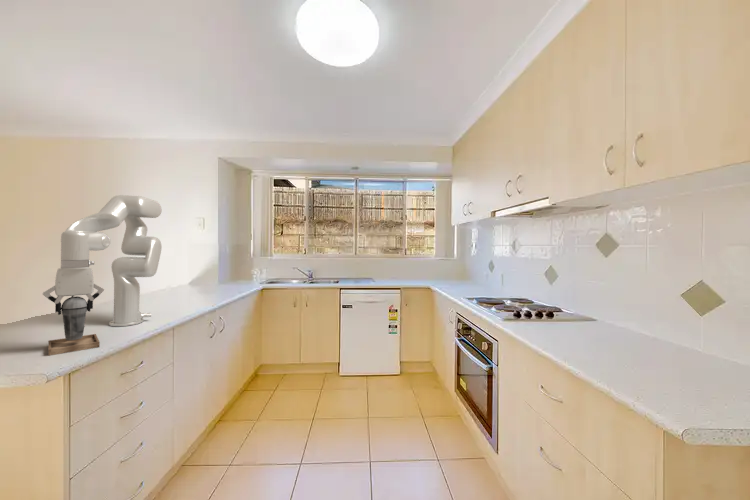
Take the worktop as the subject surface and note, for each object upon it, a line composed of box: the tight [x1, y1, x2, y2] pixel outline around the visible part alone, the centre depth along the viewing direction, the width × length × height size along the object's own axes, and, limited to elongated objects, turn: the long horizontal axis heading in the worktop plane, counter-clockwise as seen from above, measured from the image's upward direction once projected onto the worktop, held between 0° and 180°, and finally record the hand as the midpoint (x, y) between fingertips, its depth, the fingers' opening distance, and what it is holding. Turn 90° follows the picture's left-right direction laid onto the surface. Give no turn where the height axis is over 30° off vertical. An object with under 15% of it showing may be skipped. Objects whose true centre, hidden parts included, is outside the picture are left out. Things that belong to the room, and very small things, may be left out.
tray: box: [47, 333, 100, 356], centre depth 114 cm, size 13×13×2 cm
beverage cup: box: [61, 295, 88, 340], centre depth 113 cm, size 7×7×20 cm
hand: (74, 312), depth 113 cm, fingers closed on beverage cup, 7 cm apart
